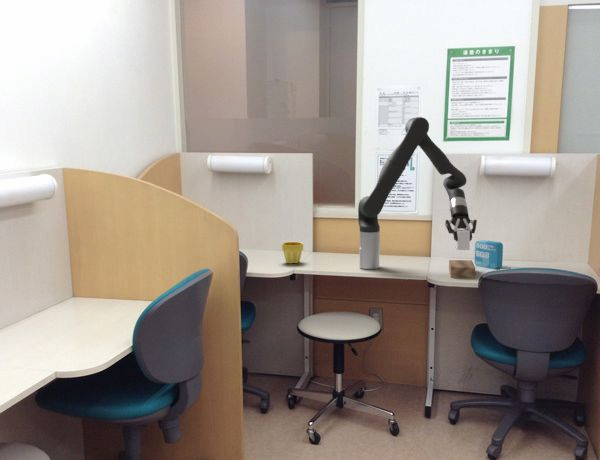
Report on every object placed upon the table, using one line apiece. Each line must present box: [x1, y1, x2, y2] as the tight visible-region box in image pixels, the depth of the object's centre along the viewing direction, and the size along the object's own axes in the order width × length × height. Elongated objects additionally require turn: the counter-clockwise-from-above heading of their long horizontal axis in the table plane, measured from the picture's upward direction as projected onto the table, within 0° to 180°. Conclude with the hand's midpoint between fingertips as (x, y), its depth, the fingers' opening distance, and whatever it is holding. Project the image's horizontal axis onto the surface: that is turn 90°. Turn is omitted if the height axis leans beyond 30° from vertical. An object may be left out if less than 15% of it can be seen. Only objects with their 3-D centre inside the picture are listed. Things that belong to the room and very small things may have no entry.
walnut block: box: [448, 259, 476, 280], centre depth 260 cm, size 10×16×5 cm, turn 169°
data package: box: [473, 239, 504, 270], centre depth 273 cm, size 12×4×12 cm, turn 40°
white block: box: [455, 229, 471, 251], centre depth 258 cm, size 5×6×8 cm
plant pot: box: [281, 241, 304, 264], centre depth 288 cm, size 10×10×10 cm
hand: (463, 240), depth 256 cm, fingers closed on white block, 5 cm apart
